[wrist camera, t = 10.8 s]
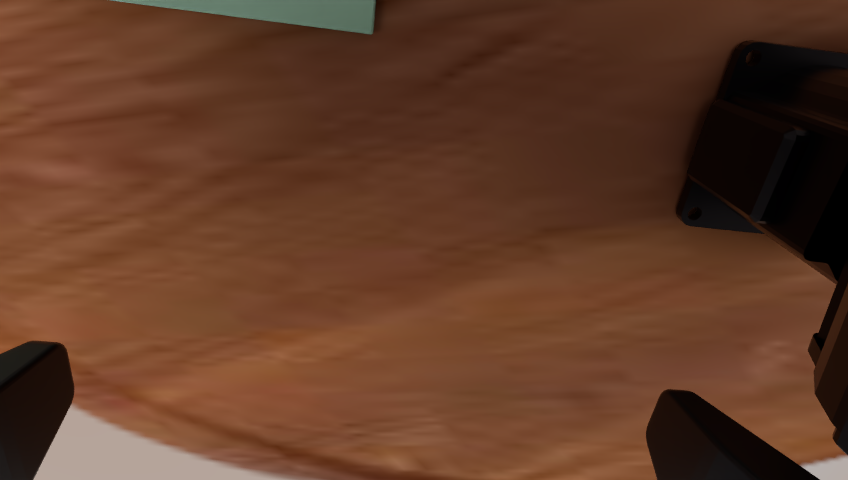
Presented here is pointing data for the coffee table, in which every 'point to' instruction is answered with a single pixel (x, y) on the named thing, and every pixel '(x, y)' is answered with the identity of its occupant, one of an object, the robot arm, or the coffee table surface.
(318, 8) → the board
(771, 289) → the coffee table surface
